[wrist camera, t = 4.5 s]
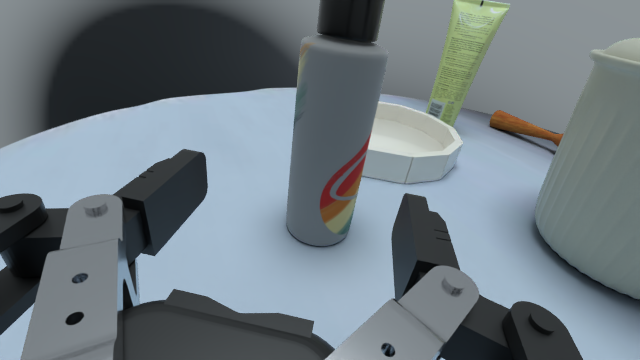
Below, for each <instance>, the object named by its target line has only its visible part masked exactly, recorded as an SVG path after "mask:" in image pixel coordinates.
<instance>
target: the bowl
mask: <svg viewBox="0 0 640 360" xmlns="http://www.w3.org/2000/svg"><path fill="white" fill-rule="evenodd" d="M462 145H463V142H462V140H461V138H460V137H459V135H458V133H457V132H456V130H455V129H454V128H453V127H451V126H450V125H448V124H446V123H444V122H443V121H441V120H439V119H437V118H436V117H434V116H432V115H430V114H427V113H424V112H421V111H418V110H415V109H412V108H408V107H405V106H401V105H397V104H391V103H386V102H380V101H378V106H377V110H376V115H375V119H374V123H373V128H372V132H371V137H370V141H369V145H368V150H367V154H366V159H365V163H364V167H363V172H362V176H365V177H370V178H375V179H381V180H386V181H391V182H396V183H402V184H404V183H405V184H410V183H419V182H427V181H436V180H441V179H442V178H443V177H444V176H445V175H446V174H447V173H448V172H449V171H450V170H451V169H452V168H453V167H454V165H455V162H456V160H457V157H458V155H459V152H460V150H461V147H462Z"/></svg>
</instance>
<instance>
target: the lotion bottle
mask: <svg viewBox="0 0 640 360" xmlns="http://www.w3.org/2000/svg"><path fill="white" fill-rule="evenodd" d="M384 3H385V0H320V6H319V16H318V25H317V32H318V33H320V34H323V35H316V36H309V37H305V38H303V40H302V42H301V49H300V58H299V70H298V81H297V93H296V105H295V117H294V129H293V141H292V153H291V165H290V177H289V189H288V201H287V216H286V220H287V227H288V229H289V231H290V233H291V234H292V235H293V236H294V237H295V238H297V239H298V240H300V241H302V242H304V243H306V244H310V245H314V246H328V245H333V244H335V243H338V242H339V241H341V240H342V239H343V238H344V237H345V236H346V235H347V233H348V230H349V227H350V224H351V220H352V216H353V211H354V207H355V203H356V198H357V194H358V189H359V185H360V181H361V176H362V172H363V167H364V163H365V159H366V154H367V150H368V145H369V141H370V137H371V132H372V128H373V123H374V119H375V115H376V110H377V106H378V101H379V97H380V93H381V88H382V83H383V79H384V75H385V70H386V65H387V60H388V51H387V50H386V49H385V48H383V47H381V46H379V45H377V44H374V43H371V42H375V41H377V38H378V33H379V27H380V23H381V18H382V13H383V7H384Z"/></svg>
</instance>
